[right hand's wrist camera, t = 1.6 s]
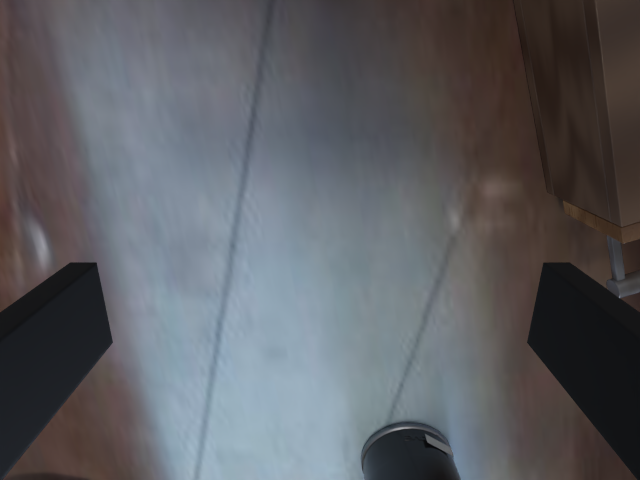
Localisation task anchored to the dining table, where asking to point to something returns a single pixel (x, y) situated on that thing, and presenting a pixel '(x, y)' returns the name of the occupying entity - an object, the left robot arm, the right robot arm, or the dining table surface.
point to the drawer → (612, 248)
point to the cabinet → (586, 100)
